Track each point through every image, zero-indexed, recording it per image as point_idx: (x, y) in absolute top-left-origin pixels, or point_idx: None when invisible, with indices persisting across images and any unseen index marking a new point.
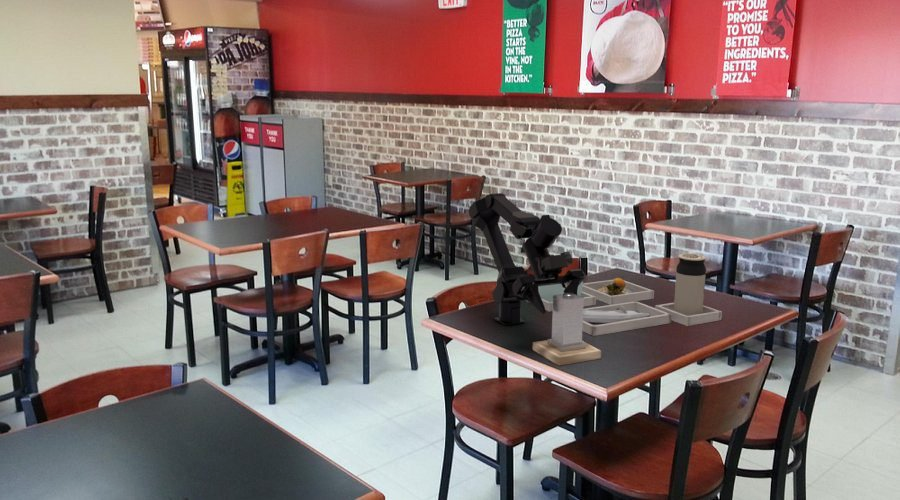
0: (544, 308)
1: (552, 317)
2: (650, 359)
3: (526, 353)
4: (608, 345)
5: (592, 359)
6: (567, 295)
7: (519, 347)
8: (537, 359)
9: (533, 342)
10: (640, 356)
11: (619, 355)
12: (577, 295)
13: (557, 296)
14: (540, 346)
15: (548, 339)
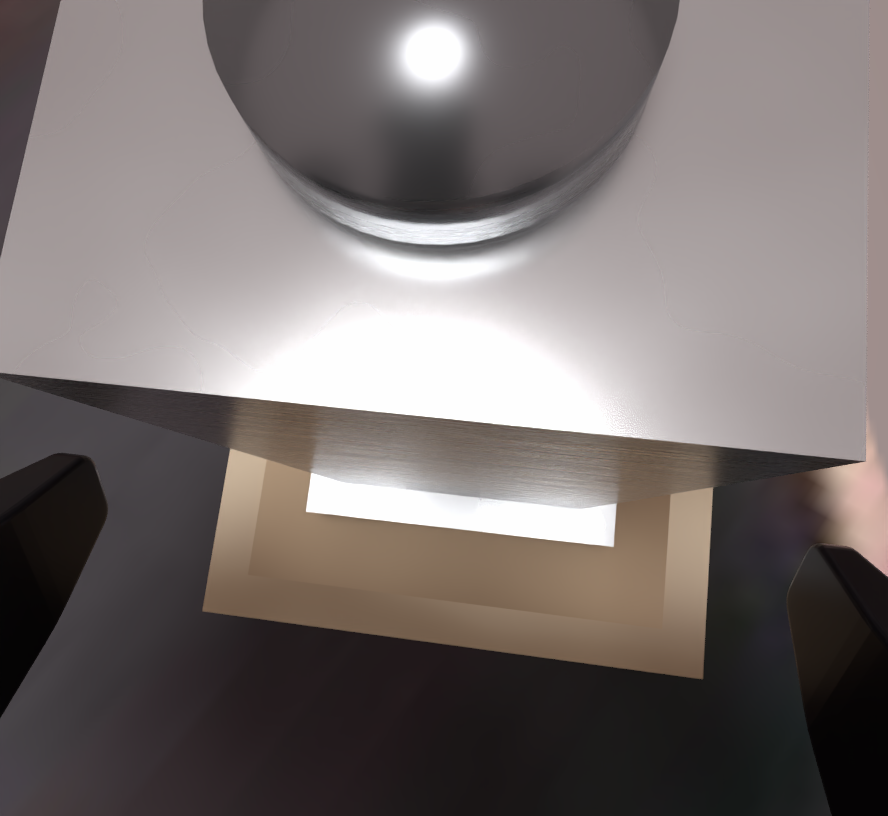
0: (872, 588)
1: (640, 497)
2: (4, 24)
3: (786, 610)
4: (11, 404)
5: None
6: None
7: (756, 793)
8: None
9: (703, 665)
10: (11, 99)
11: None
12: (64, 34)
13: (796, 249)
14: (706, 525)
15: (604, 537)
